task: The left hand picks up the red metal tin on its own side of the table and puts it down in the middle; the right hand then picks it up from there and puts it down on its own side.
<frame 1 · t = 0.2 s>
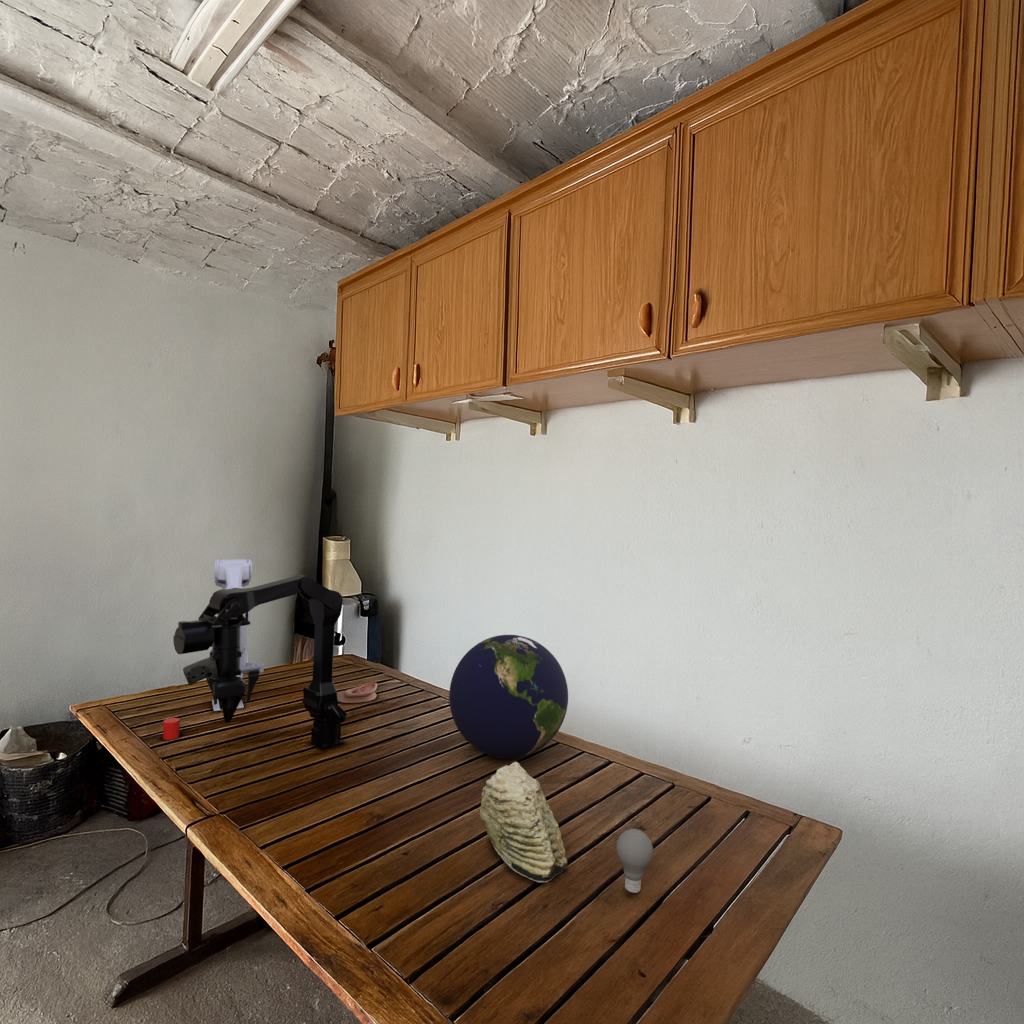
left hand: (232, 701, 162), 10 cm above the table, tool pointing down, fingers open, 7 cm apart
right hand: (225, 715, 142), 13 cm above the table, tool pointing down, fingers open, 9 cm apart
globe: (506, 754, 160), on the table
anatomical model: (354, 698, 199), on the table
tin: (171, 737, 162), on the table
light bulb: (632, 891, 106), on the table
fossil: (519, 856, 115), on the table
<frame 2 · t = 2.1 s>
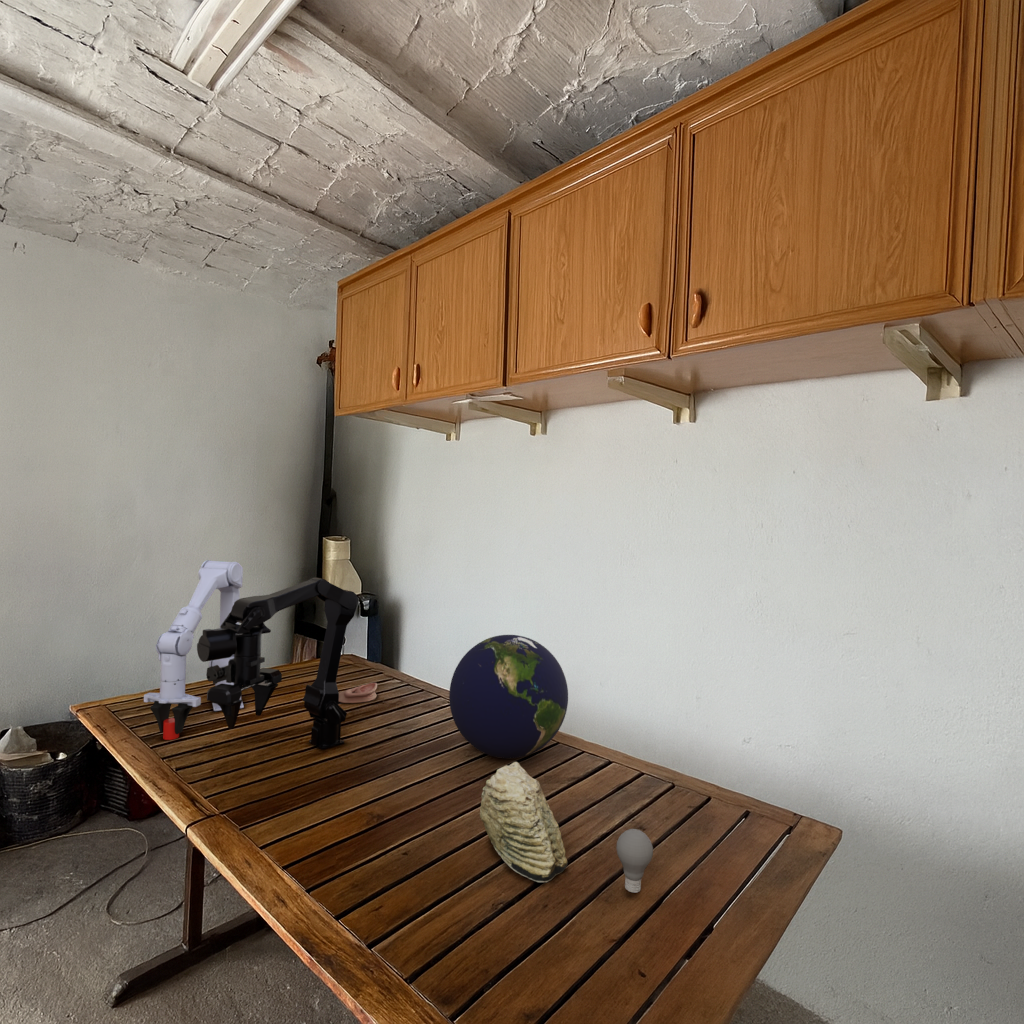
left hand: (171, 731, 162), 1 cm above the table, tool pointing down, fingers closed on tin, 4 cm apart
right hand: (245, 721, 145), 11 cm above the table, tool pointing down, fingers open, 9 cm apart
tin: (171, 737, 162), on the table, touching left hand
everything else where it was.
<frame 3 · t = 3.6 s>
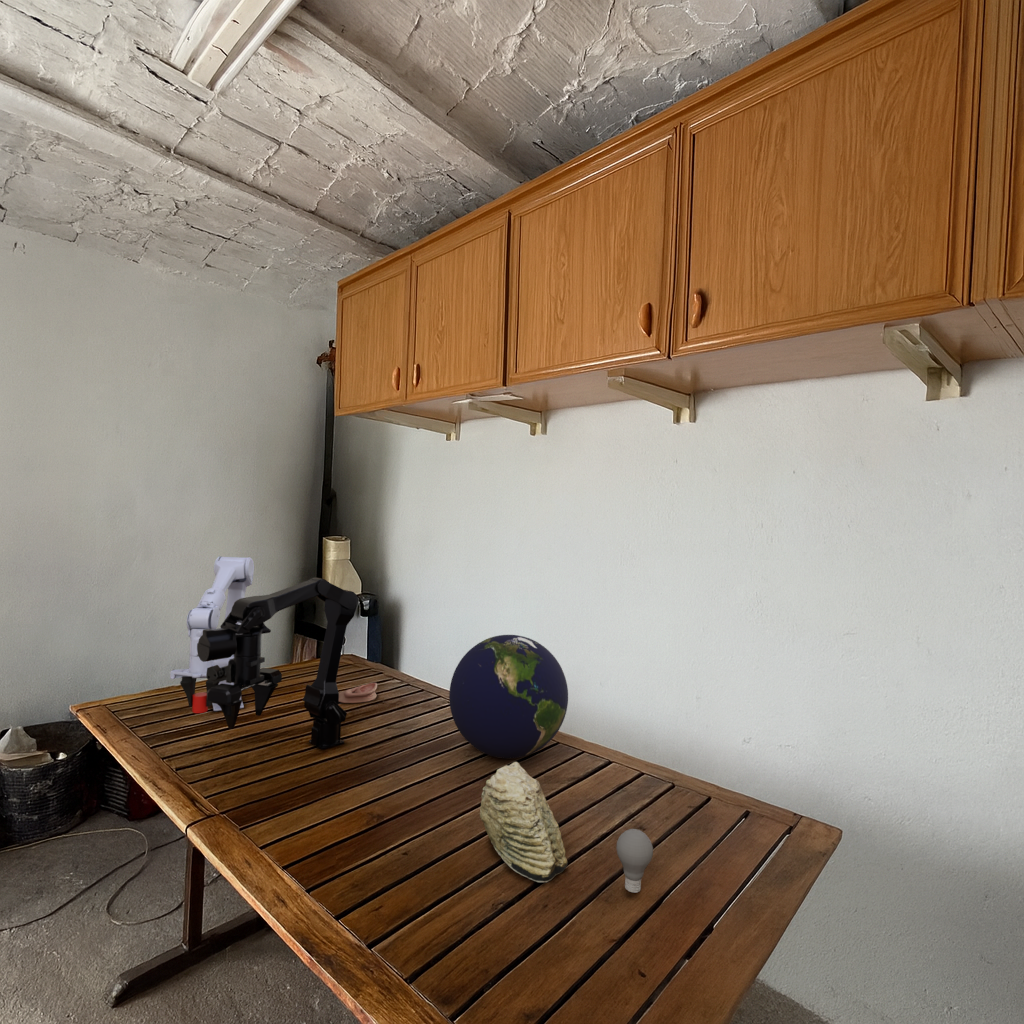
left hand: (200, 705, 165), 7 cm above the table, tool pointing down, fingers closed on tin, 4 cm apart
right hand: (245, 721, 145), 11 cm above the table, tool pointing down, fingers open, 9 cm apart
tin: (200, 710, 165), point 6 cm above the table, touching left hand
everything else where it was.
when the left hand's fingers open (2 cm above the table, at t = 5.3 s): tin stays where it is, on the table.
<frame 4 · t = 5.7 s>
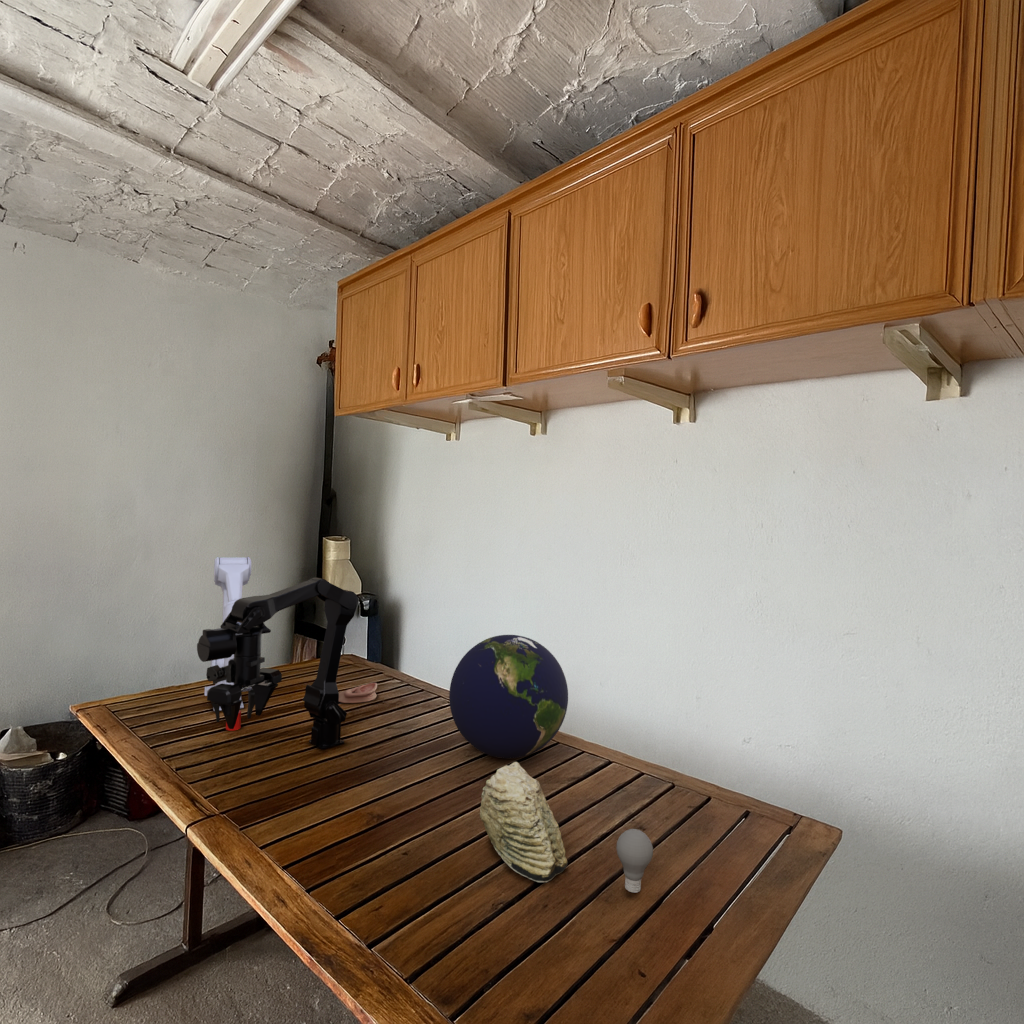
left hand: (233, 719, 170), 2 cm above the table, tool pointing down, fingers open, 7 cm apart
right hand: (245, 721, 145), 11 cm above the table, tool pointing down, fingers open, 9 cm apart
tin: (233, 728, 170), on the table
everything else where it was.
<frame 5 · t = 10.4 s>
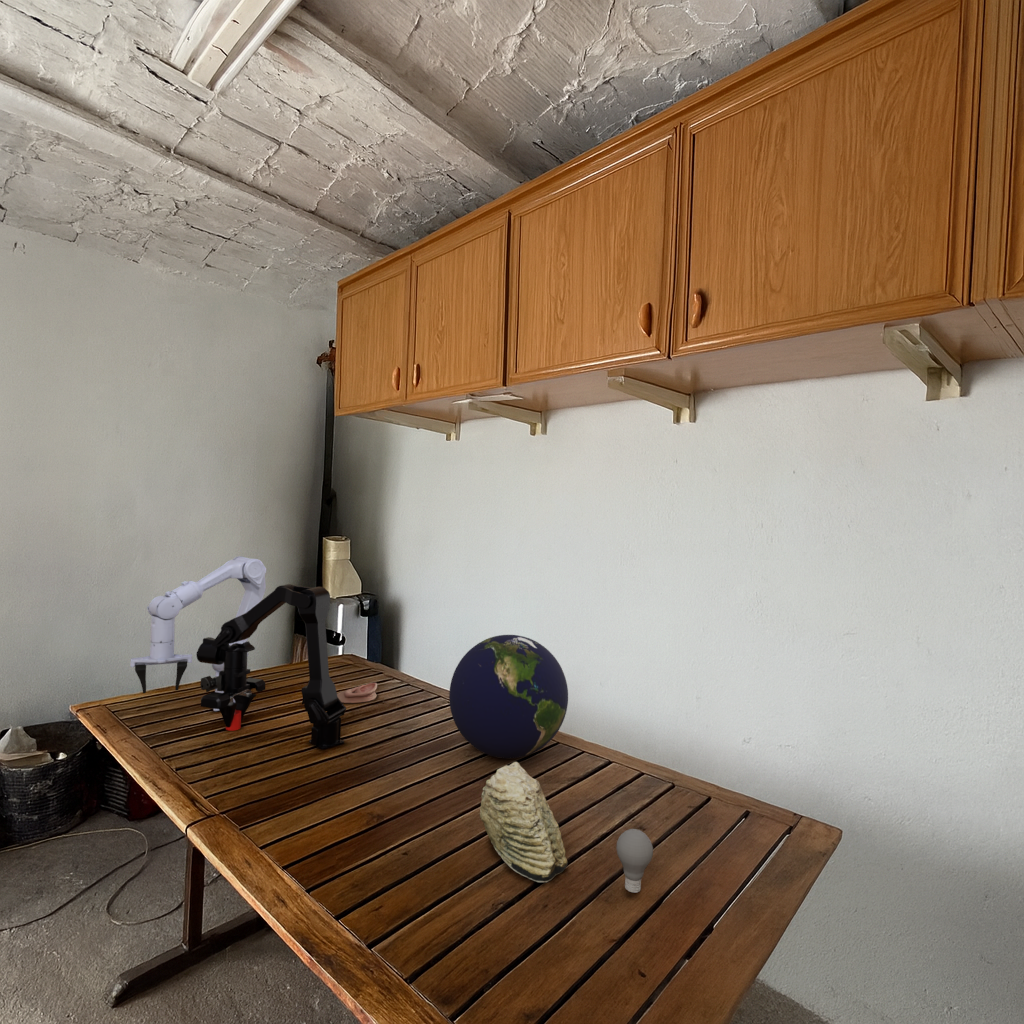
left hand: (160, 690, 172), 9 cm above the table, tool pointing down, fingers open, 7 cm apart
right hand: (233, 724, 170), 1 cm above the table, tool pointing down, fingers closed on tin, 4 cm apart
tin: (233, 728, 170), on the table, touching right hand
everything else where it was.
when the right hand's fingers open (2 cm above the table, at t = 14.5 s): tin stays where it is, on the table.
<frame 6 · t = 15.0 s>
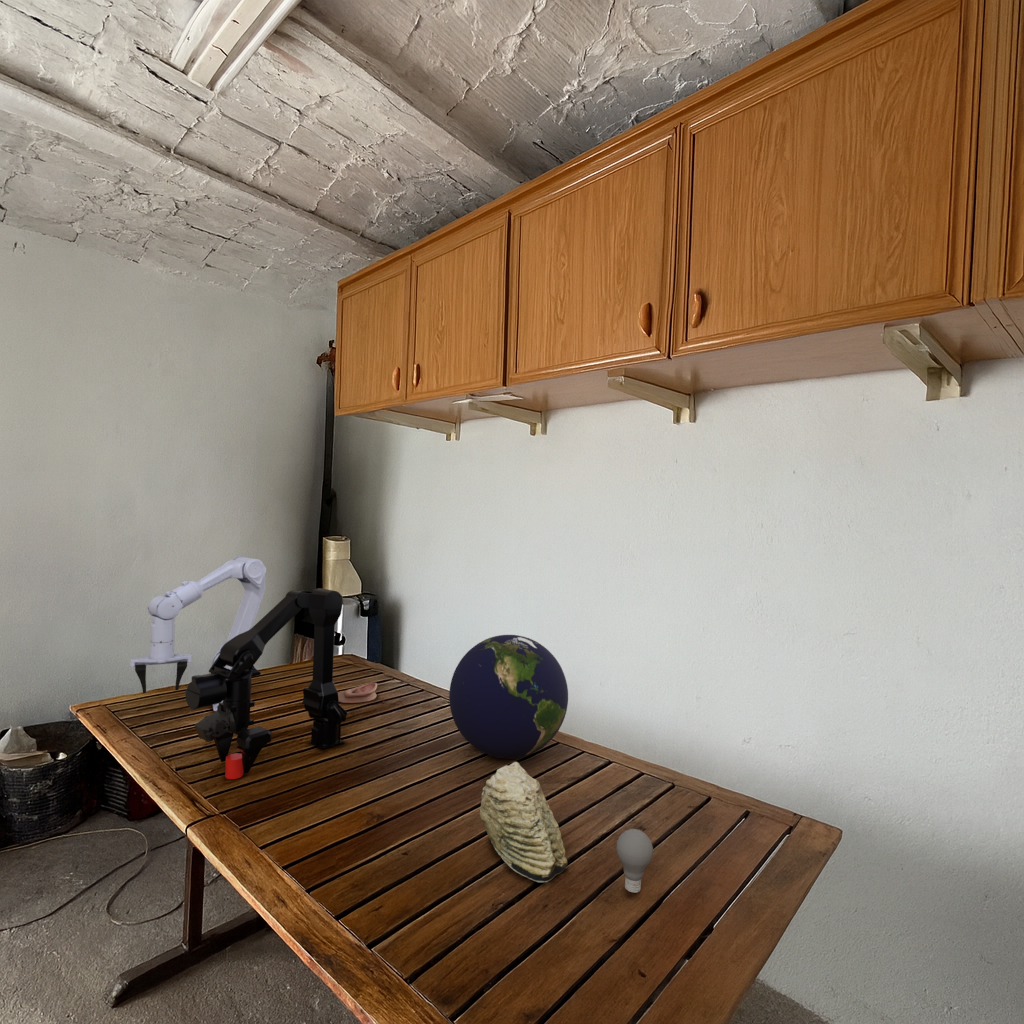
left hand: (160, 690, 172), 9 cm above the table, tool pointing down, fingers open, 7 cm apart
right hand: (234, 767, 142), 2 cm above the table, tool pointing down, fingers open, 9 cm apart
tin: (234, 775, 142), on the table
everything else where it was.
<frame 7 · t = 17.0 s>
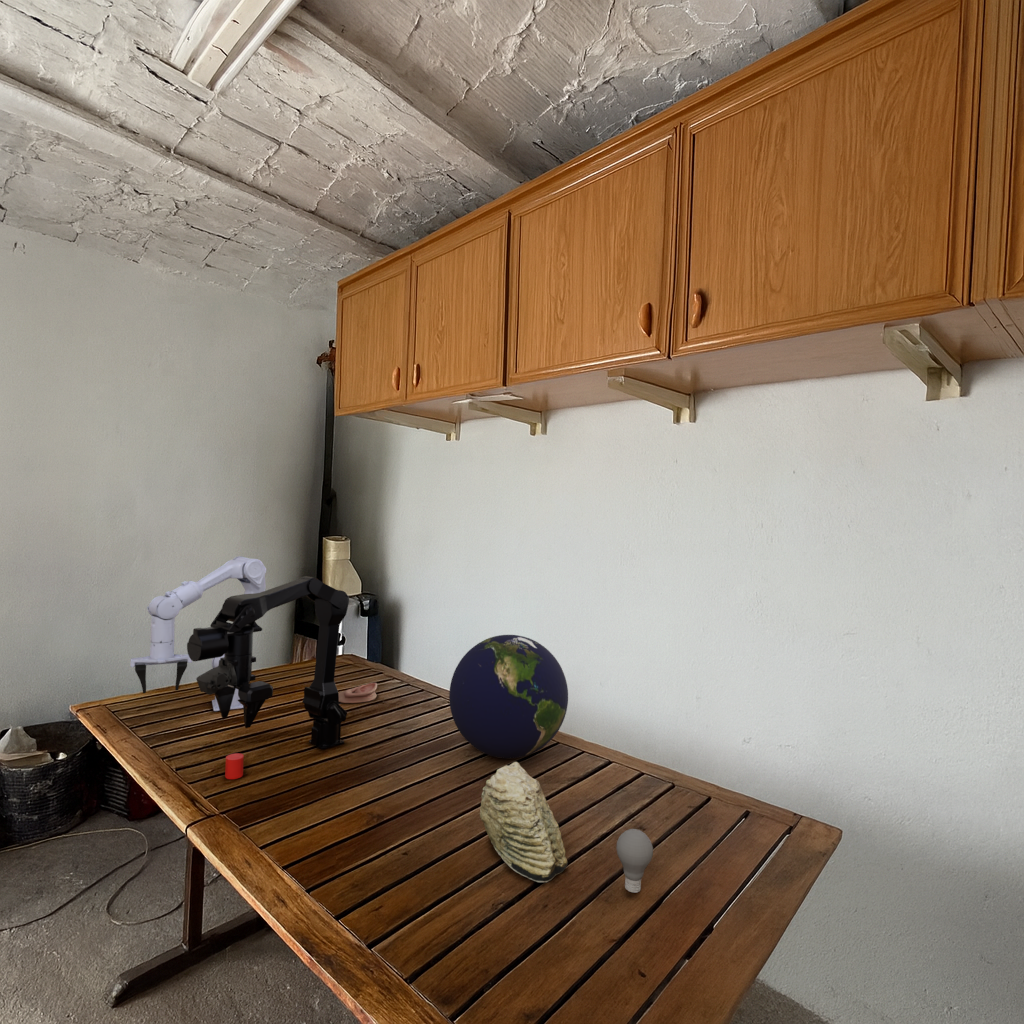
left hand: (160, 690, 172), 9 cm above the table, tool pointing down, fingers open, 7 cm apart
right hand: (235, 722, 142), 12 cm above the table, tool pointing down, fingers open, 9 cm apart
nothing on the table moved.
at the end: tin inside the target area (0.0 cm from its centre), on the table; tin tilted 0°; the two hands never held the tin at the same time; the left hand is holding nothing; the right hand is holding nothing; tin at rest at the end (0.0 cm/s) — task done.
